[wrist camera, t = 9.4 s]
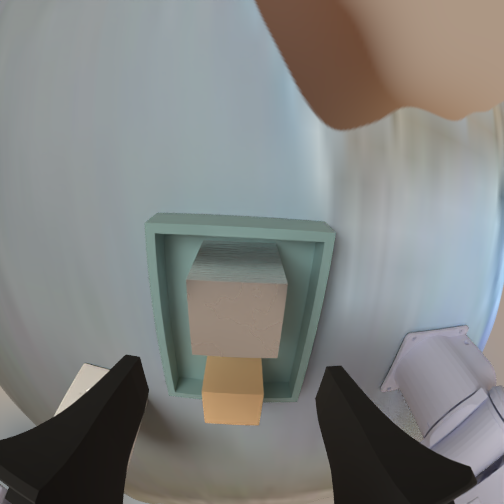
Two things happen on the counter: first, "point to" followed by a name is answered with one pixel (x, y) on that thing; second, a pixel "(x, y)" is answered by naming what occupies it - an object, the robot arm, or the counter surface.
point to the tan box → (232, 390)
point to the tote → (296, 306)
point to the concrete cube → (236, 299)
